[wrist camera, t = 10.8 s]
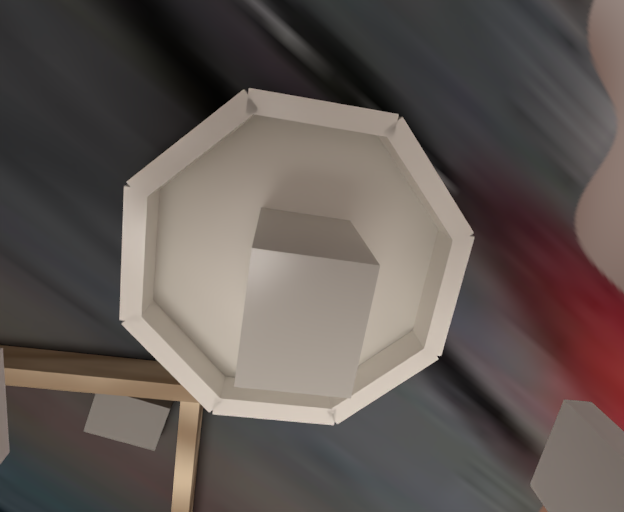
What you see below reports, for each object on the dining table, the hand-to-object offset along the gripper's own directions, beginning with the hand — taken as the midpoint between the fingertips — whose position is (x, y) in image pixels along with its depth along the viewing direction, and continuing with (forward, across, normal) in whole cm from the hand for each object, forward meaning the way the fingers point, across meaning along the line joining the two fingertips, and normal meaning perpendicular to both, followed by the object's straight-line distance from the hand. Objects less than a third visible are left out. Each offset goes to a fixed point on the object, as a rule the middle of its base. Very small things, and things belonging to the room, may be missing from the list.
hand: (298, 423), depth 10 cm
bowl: (+13, +1, 0) cm, 13 cm away
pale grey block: (+12, +1, 0) cm, 13 cm away
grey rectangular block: (+14, -7, -11) cm, 19 cm away
